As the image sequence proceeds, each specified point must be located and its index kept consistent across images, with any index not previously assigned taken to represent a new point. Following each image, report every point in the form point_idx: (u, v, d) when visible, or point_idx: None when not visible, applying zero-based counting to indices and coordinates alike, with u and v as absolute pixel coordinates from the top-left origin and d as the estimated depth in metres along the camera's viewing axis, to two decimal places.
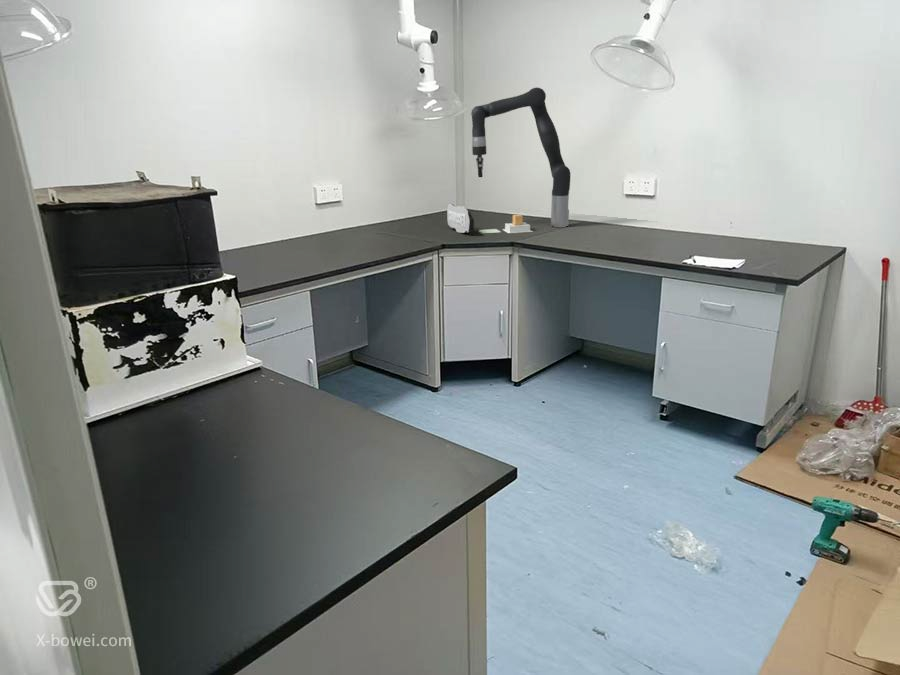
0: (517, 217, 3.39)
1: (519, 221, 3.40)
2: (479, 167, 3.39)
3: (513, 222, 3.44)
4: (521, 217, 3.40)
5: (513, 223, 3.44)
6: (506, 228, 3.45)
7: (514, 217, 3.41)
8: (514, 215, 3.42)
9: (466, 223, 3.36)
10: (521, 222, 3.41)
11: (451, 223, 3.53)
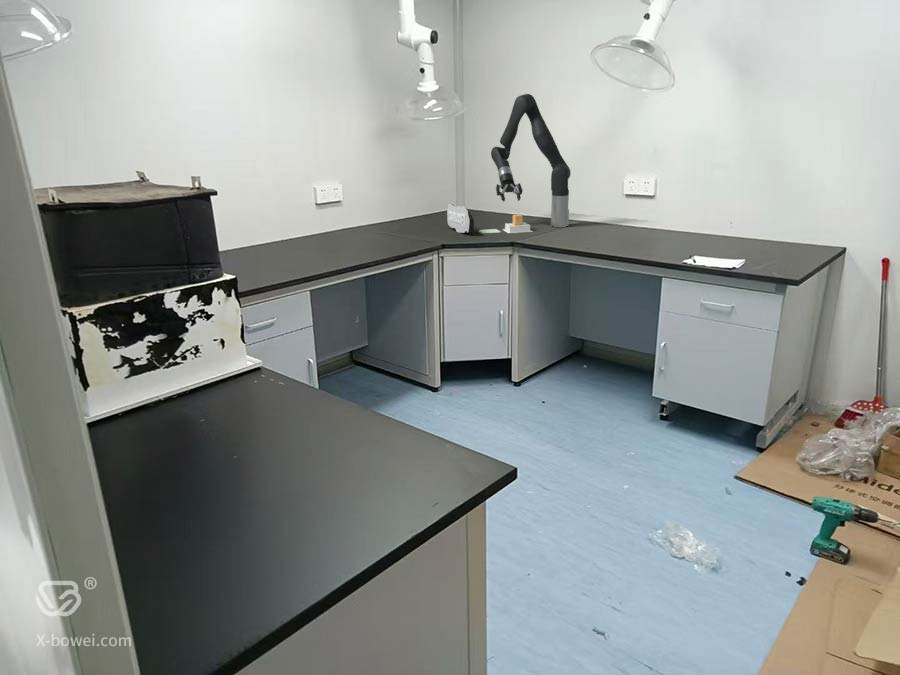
0: (517, 217, 3.39)
1: (519, 221, 3.40)
2: (497, 193, 3.51)
3: (513, 222, 3.44)
4: (521, 217, 3.40)
5: (513, 223, 3.44)
6: (506, 228, 3.45)
7: (514, 217, 3.41)
8: (514, 215, 3.42)
9: (466, 223, 3.36)
10: (521, 222, 3.41)
11: (451, 223, 3.53)
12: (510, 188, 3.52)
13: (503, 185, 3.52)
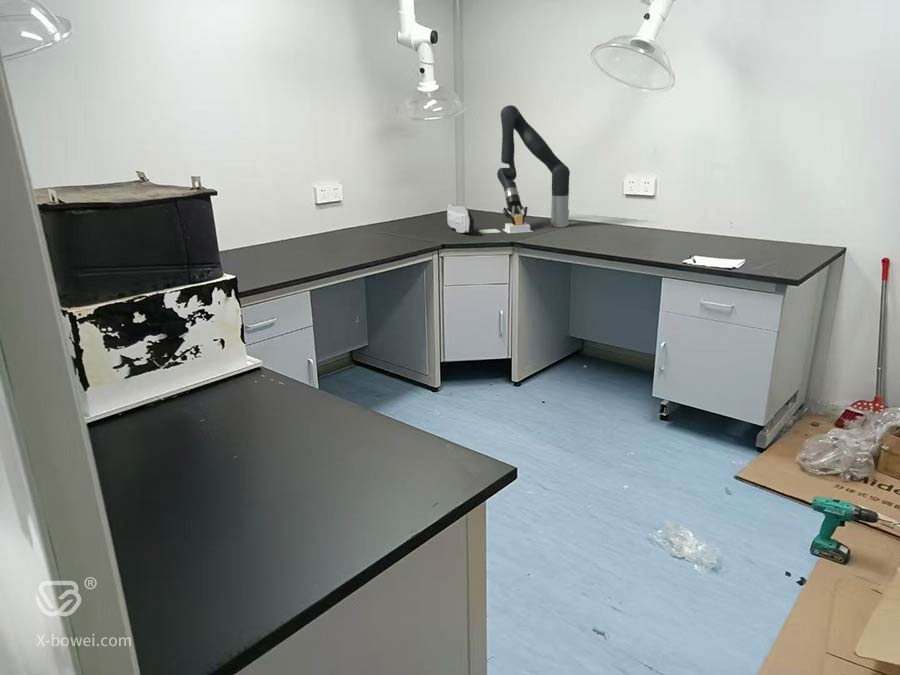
0: (517, 217, 3.39)
1: (519, 221, 3.40)
2: (507, 216, 3.43)
3: None
4: (521, 217, 3.40)
5: None
6: (506, 228, 3.45)
7: (514, 217, 3.41)
8: (514, 215, 3.42)
9: (466, 223, 3.36)
10: (521, 222, 3.41)
11: (451, 223, 3.53)
12: (515, 209, 3.44)
13: (510, 207, 3.44)
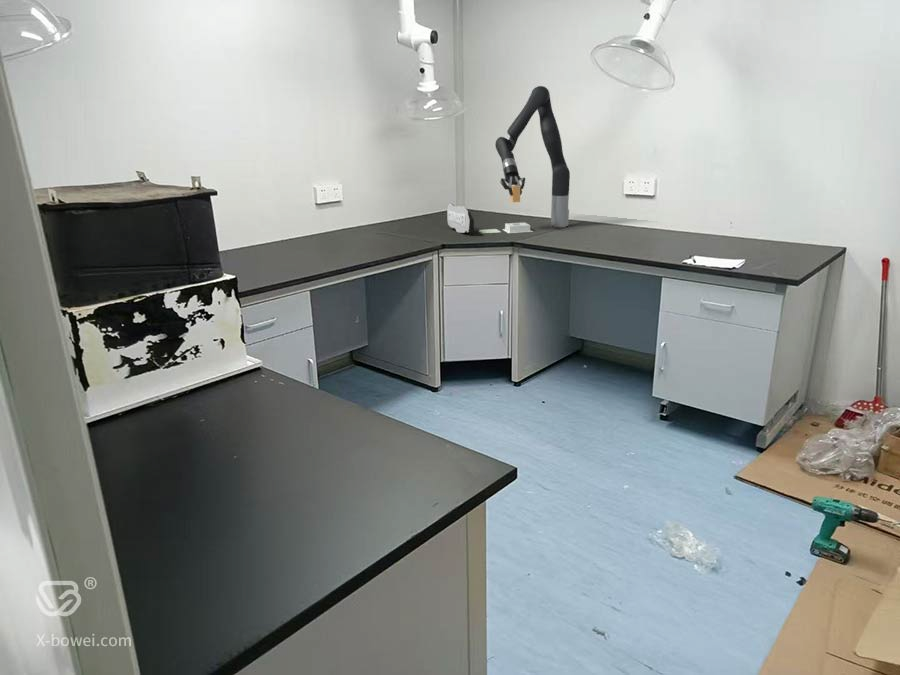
0: (514, 187, 3.34)
1: (517, 192, 3.35)
2: (505, 187, 3.38)
3: None
4: (519, 188, 3.35)
5: None
6: (506, 228, 3.45)
7: (512, 188, 3.36)
8: (512, 186, 3.37)
9: (466, 223, 3.36)
10: (519, 193, 3.35)
11: (451, 223, 3.53)
12: (513, 180, 3.39)
13: (507, 177, 3.39)
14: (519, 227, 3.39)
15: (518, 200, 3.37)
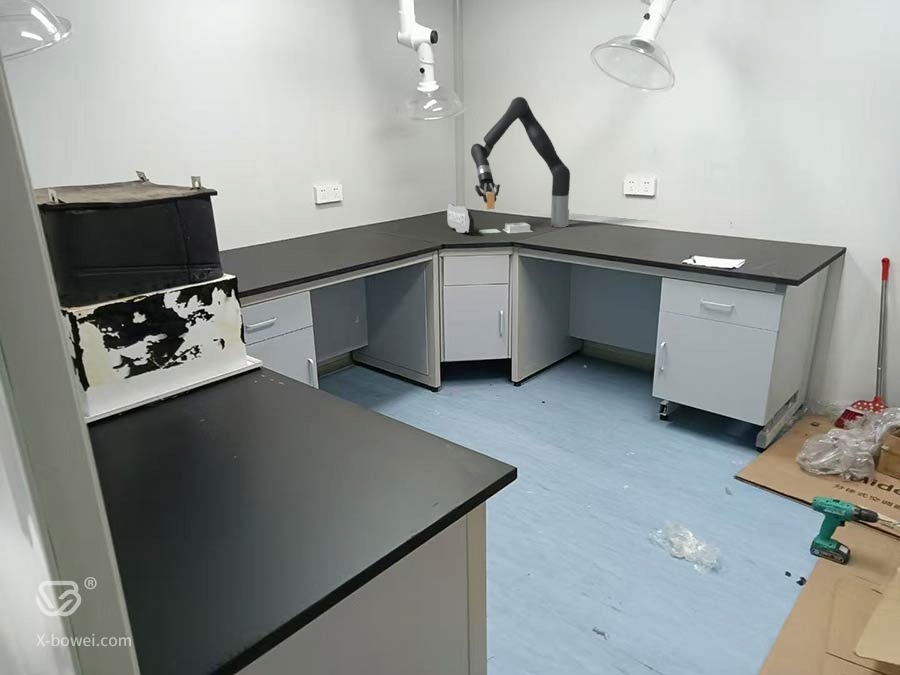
0: (488, 194, 3.35)
1: (491, 199, 3.36)
2: (479, 194, 3.39)
3: None
4: (493, 194, 3.36)
5: None
6: (506, 228, 3.45)
7: (486, 195, 3.37)
8: (486, 193, 3.38)
9: (466, 223, 3.36)
10: (493, 200, 3.36)
11: (451, 223, 3.53)
12: (488, 187, 3.39)
13: (482, 184, 3.40)
14: (519, 227, 3.39)
15: (492, 207, 3.38)
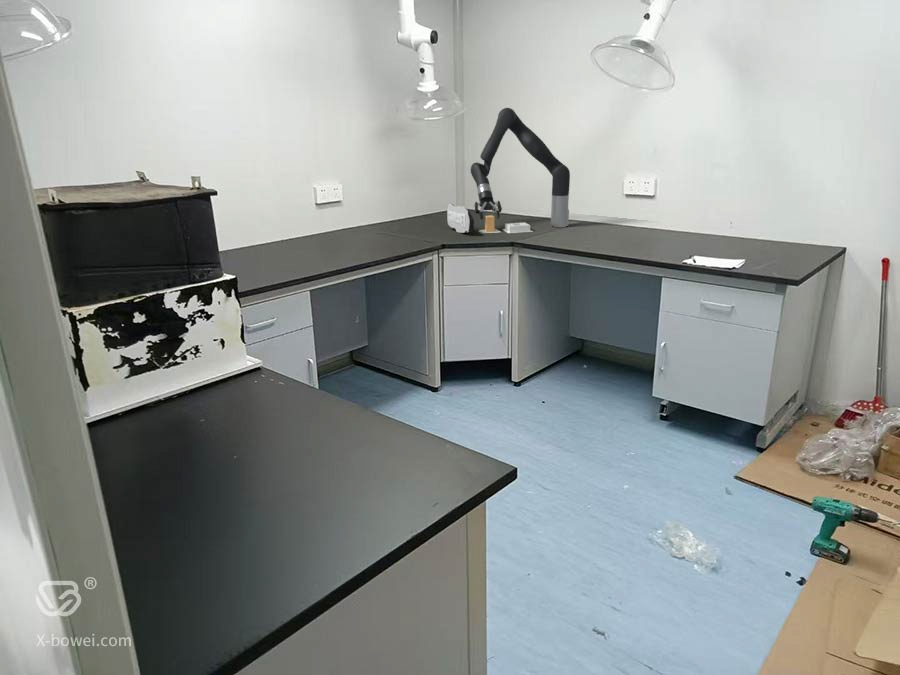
0: (488, 218, 3.39)
1: (491, 222, 3.40)
2: (475, 211, 3.42)
3: (485, 223, 3.43)
4: (493, 218, 3.39)
5: (485, 224, 3.43)
6: (506, 228, 3.45)
7: (486, 218, 3.41)
8: (486, 216, 3.41)
9: (466, 223, 3.36)
10: (493, 223, 3.40)
11: (451, 223, 3.53)
12: (489, 206, 3.43)
13: (482, 203, 3.43)
14: (519, 227, 3.39)
15: (492, 230, 3.42)
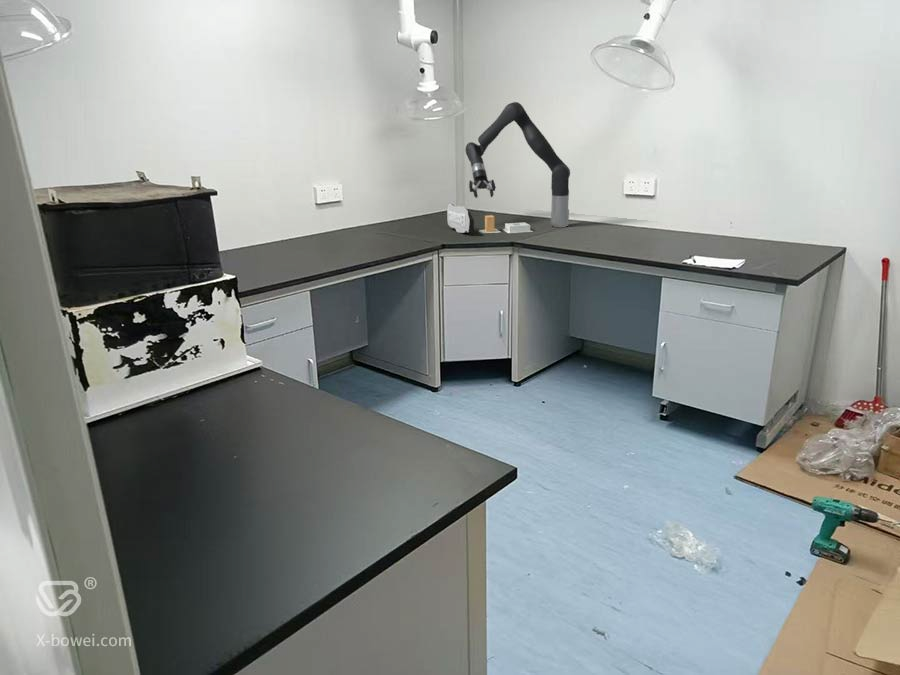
0: (488, 218, 3.39)
1: (491, 222, 3.40)
2: (470, 190, 3.50)
3: (485, 223, 3.43)
4: (493, 218, 3.39)
5: (485, 224, 3.43)
6: (506, 228, 3.45)
7: (486, 218, 3.41)
8: (486, 216, 3.41)
9: (466, 223, 3.36)
10: (493, 223, 3.40)
11: (451, 223, 3.53)
12: (483, 184, 3.51)
13: (476, 181, 3.52)
14: (519, 227, 3.39)
15: (492, 230, 3.42)
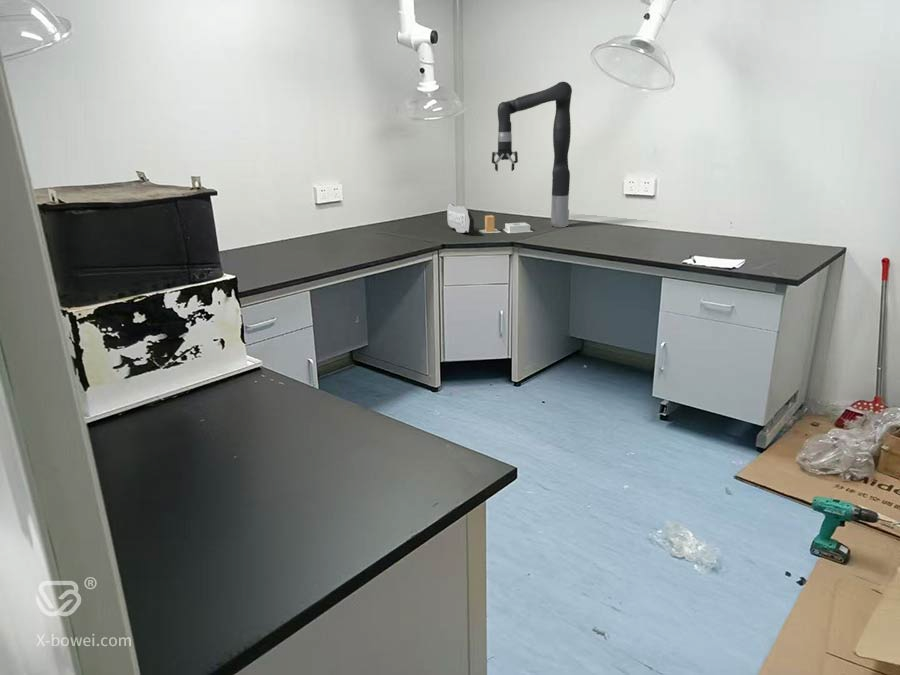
0: (488, 218, 3.39)
1: (491, 222, 3.40)
2: None
3: (485, 223, 3.43)
4: (493, 218, 3.39)
5: (485, 224, 3.43)
6: (506, 228, 3.45)
7: (486, 218, 3.41)
8: (486, 216, 3.41)
9: (466, 223, 3.36)
10: (493, 223, 3.40)
11: (451, 223, 3.53)
12: (505, 157, 3.51)
13: (499, 153, 3.50)
14: (519, 227, 3.39)
15: (492, 230, 3.42)
